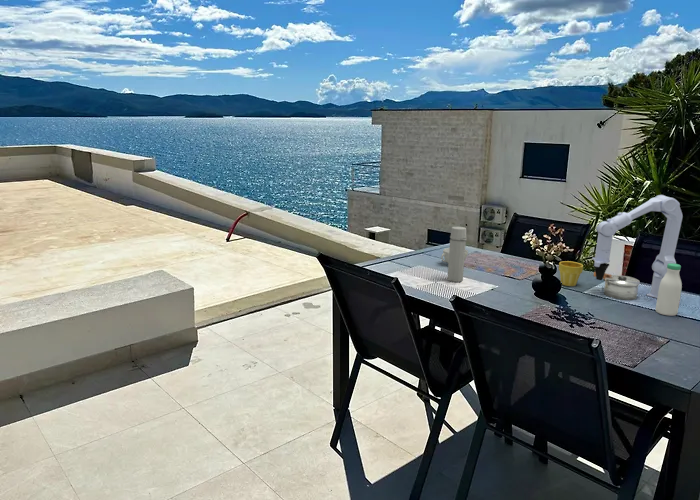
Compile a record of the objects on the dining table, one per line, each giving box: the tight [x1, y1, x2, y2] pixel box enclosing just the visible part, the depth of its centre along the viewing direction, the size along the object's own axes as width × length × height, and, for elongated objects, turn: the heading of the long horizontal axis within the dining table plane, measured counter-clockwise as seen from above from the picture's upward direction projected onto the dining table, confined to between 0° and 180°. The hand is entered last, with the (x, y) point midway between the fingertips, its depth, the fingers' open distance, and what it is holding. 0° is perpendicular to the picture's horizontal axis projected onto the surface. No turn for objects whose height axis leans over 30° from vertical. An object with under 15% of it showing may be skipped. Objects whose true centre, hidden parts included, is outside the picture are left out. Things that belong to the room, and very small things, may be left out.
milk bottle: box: [655, 263, 683, 317], centre depth 215 cm, size 8×8×20 cm
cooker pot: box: [602, 279, 639, 301], centre depth 241 cm, size 18×13×6 cm
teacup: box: [440, 247, 469, 264], centre depth 280 cm, size 15×12×8 cm
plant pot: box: [558, 260, 584, 287], centre depth 252 cm, size 10×10×10 cm
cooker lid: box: [593, 271, 640, 287], centre depth 239 cm, size 19×14×2 cm
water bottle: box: [447, 226, 468, 283], centre depth 252 cm, size 9×8×25 cm
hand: (599, 279), depth 239 cm, fingers closed
